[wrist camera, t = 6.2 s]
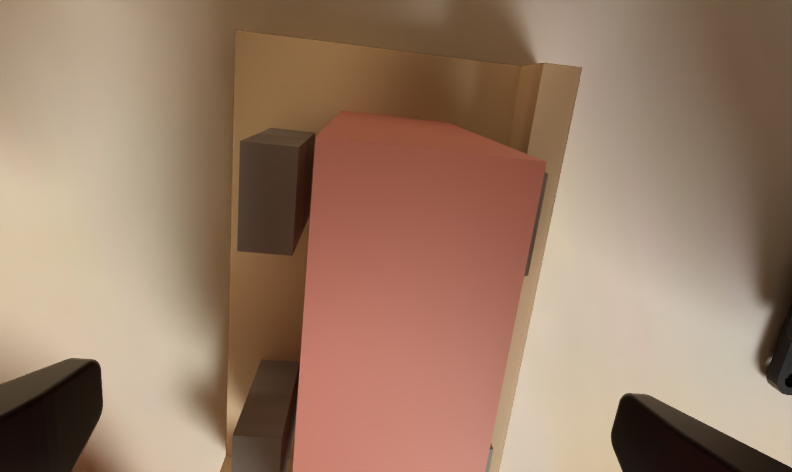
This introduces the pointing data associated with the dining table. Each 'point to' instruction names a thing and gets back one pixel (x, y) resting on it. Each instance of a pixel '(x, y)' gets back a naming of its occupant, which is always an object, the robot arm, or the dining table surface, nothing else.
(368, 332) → the pink rectangular block
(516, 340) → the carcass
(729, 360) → the dining table surface
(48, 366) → the robot arm
